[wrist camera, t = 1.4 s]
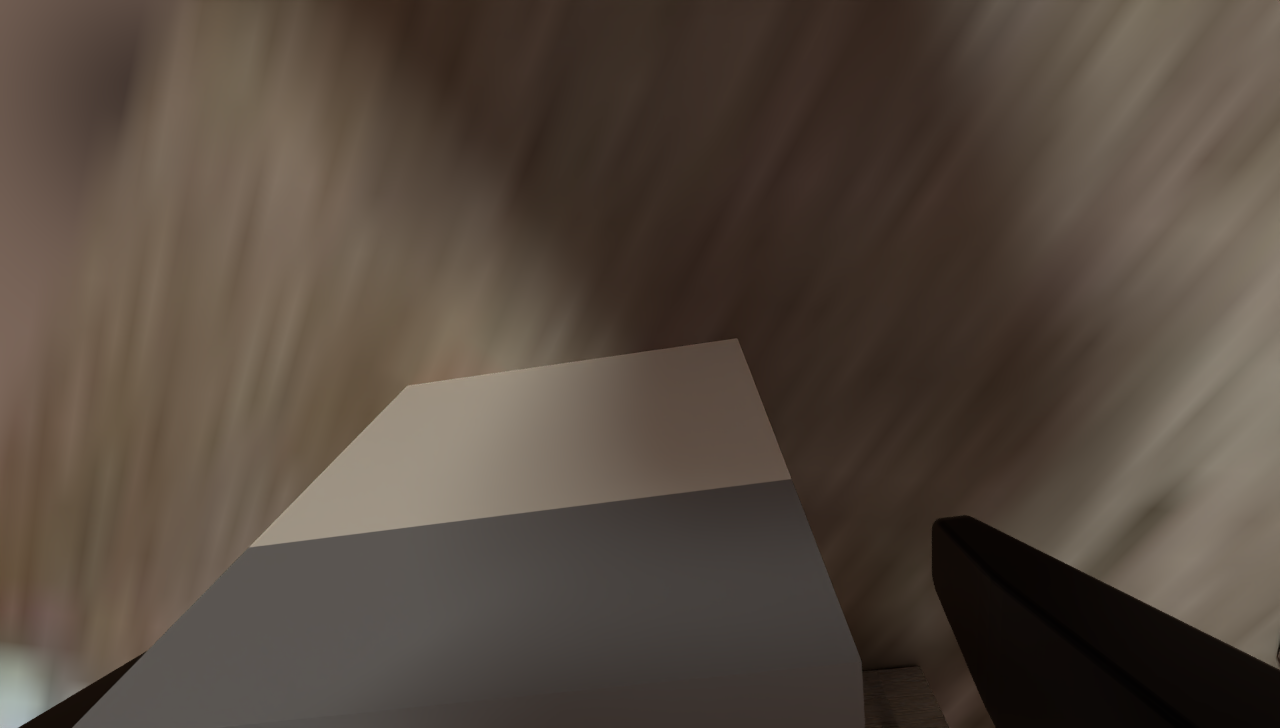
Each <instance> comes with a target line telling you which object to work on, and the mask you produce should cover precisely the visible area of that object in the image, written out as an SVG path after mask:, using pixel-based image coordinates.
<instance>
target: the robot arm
mask: <svg viewBox="0 0 1280 728" xmlns="http://www.w3.org/2000/svg"><path fill="white" fill-rule="evenodd" d="M932 577H933V582H934V586H935V590H936V592H937V595H938V597H939V600H940V602H941V604H942V607H943V609H944V611H945V614H946V616H947V619H948V621H949V623H950V626H951V628H952V630H953V633H954V635H955V637H956V640H957V642H958V645H959V647H960V649H961V652H962V654H963V656H964V659H965V661H966V663H967V666H968V668H969V671H970V673H971V675H972V678H973V680H974V682H975V685H976V687H977V689H978V692H979V694H980V696H981V698H982V701H983V703H984V705H985V707H986V709H987V711H988V713H989V715H990V717H991V719H992V721H993V723H994V725H995V727H996V728H1280V670H1279V669H1277V668H1275V667H1273V666H1271V665H1269V664H1267V663H1265V662H1263V661H1261V660H1259V659H1257V658H1255V657H1253V656H1251V655H1249V654H1247V653H1245V652H1243V651H1241V650H1239V649H1237V648H1235V647H1233V646H1231V645H1229V644H1227V643H1225V642H1223V641H1221V640H1219V639H1217V638H1214V637H1212V636H1210V635H1208V634H1206V633H1204V632H1202V631H1200V630H1198V629H1196V628H1194V627H1192V626H1190V625H1188V624H1186V623H1184V622H1182V621H1180V620H1178V619H1176V618H1174V617H1172V616H1170V615H1168V614H1166V613H1164V612H1162V611H1160V610H1158V609H1156V608H1154V607H1152V606H1150V605H1148V604H1146V603H1144V602H1142V601H1140V600H1138V599H1136V598H1134V597H1132V596H1130V595H1128V594H1126V593H1124V592H1122V591H1120V590H1118V589H1116V588H1114V587H1112V586H1110V585H1108V584H1106V583H1104V582H1102V581H1100V580H1098V579H1096V578H1094V577H1092V576H1090V575H1088V574H1086V573H1084V572H1082V571H1080V570H1078V569H1076V568H1073V567H1071V566H1069V565H1067V564H1065V563H1063V562H1061V561H1059V560H1057V559H1055V558H1053V557H1051V556H1049V555H1047V554H1045V553H1043V552H1041V551H1039V550H1037V549H1035V548H1033V547H1031V546H1029V545H1027V544H1025V543H1023V542H1021V541H1019V540H1017V539H1015V538H1013V537H1011V536H1009V535H1007V534H1005V533H1003V532H1001V531H999V530H997V529H995V528H993V527H991V526H989V525H987V524H985V523H983V522H981V521H979V520H977V519H975V518H973V517H970V516H965V515H963V516H955V517H946V518H939V519H937V520H936V521H935V522H934V523H933V526H932ZM146 652H147V651H146ZM146 652H144V653H143V654H141V655H139V656H138V657H136V658H134V659H133V660H131V661H129V662H128V663H126V664H124V665H123V666H121V667H119V668H118V669H116V670H114V671H113V672H111V673H109V674H108V675H106V676H104V677H103V678H101V679H99V680H98V681H96V682H94V683H93V684H91V685H89V686H88V687H86V688H84V689H82V690H81V691H79V692H77V693H76V694H74V695H72V696H71V697H69V698H67V699H66V700H64V701H62V702H61V703H59V704H57V705H56V706H54V707H52V708H51V709H49V710H47V711H46V712H44V713H42V714H41V715H39V716H37V717H36V718H34V719H32V720H31V721H29V722H27V723H26V724H24V725H22V726H20V727H19V728H72V727H73V726H74V725H75V724H76V723H77V722H78V721H79V720H80V719H81V718H82V717H83V716H84V715H85V714H86V713H87V712H88V711H89V710H90V709H91V708H92V707H93V706H94V705H95V704H96V703H97V702H98V701H99V700H100V699H101V698H102V697H103V696H104V695H105V694H106V693H107V692H108V691H109V690H110V689H111V688H112V687H113V686H114V685H115V684H116V683H117V682H118V681H119V679H120V678H121V677H122V676H123V675H124V674H125V673H126V672H127V671H128V670H129V669H130V668H131V667H132V666H133V665H134V664H135V663H136V662H137V661H138V660H139V659H140V658H141V657H142V656H143V655H144V654H145V653H146Z"/></svg>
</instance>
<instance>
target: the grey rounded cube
mask: <svg viewBox="0 0 1280 728" xmlns="http://www.w3.org/2000/svg"><path fill="white" fill-rule="evenodd" d="M72 728H865V714H864V695H863V677H862V661H861V659H860V656H859V653H858V651H857V648H856V646H855V643H854V640H853V638H852V635H851V632H850V630H849V627H848V625H847V622H846V619H845V617H844V614H843V612H842V609H841V606H840V604H839V601H838V599H837V596H836V593H835V591H834V588H833V586H832V583H831V580H830V578H829V575H828V573H827V570H826V567H825V565H824V562H823V560H822V557H821V554H820V552H819V549H818V547H817V544H816V541H815V539H814V536H813V534H812V531H811V528H810V526H809V523H808V521H807V518H806V515H805V513H804V510H803V508H802V505H801V502H800V500H799V497H798V495H797V492H796V489H795V487H794V484H793V482H792V479H791V476H790V474H789V471H788V468H787V466H786V463H785V461H784V458H783V455H782V453H781V450H780V448H779V445H778V442H777V440H776V437H775V435H774V432H773V429H772V427H771V424H770V422H769V419H768V416H767V414H766V411H765V409H764V406H763V403H762V401H761V398H760V396H759V393H758V390H757V388H756V385H755V383H754V380H753V377H752V375H751V372H750V370H749V367H748V364H747V362H746V359H745V357H744V354H743V351H742V349H741V346H740V344H739V341H738V338H735V339H728V340H721V341H714V342H708V343H701V344H694V345H687V346H680V347H673V348H666V349H659V350H652V351H645V352H638V353H631V354H624V355H617V356H610V357H604V358H597V359H590V360H583V361H576V362H569V363H562V364H555V365H548V366H541V367H534V368H527V369H520V370H513V371H506V372H499V373H493V374H486V375H479V376H472V377H465V378H458V379H451V380H444V381H437V382H430V383H423V384H416V385H409V386H407V387H406V388H405V389H404V390H403V391H402V392H401V393H400V394H399V395H398V396H397V397H396V398H395V399H394V400H393V401H392V402H391V403H390V404H389V405H388V406H387V407H386V408H385V409H384V410H383V411H382V412H381V413H380V414H379V415H378V416H377V417H376V418H375V419H374V420H373V421H372V422H371V423H370V424H369V425H368V426H367V427H366V428H365V429H364V430H363V432H362V433H361V434H360V435H359V436H358V437H357V438H356V439H355V440H354V441H353V442H352V443H351V444H350V445H349V446H348V447H347V448H346V449H345V450H344V451H343V452H342V453H341V454H340V455H339V456H338V457H337V458H336V459H335V460H334V461H333V462H332V463H331V464H330V465H329V466H328V467H327V468H326V469H325V470H324V471H323V472H322V473H321V474H320V475H319V476H318V477H317V478H316V479H315V480H314V482H313V483H312V484H311V485H310V486H309V487H308V488H307V489H306V490H305V491H304V492H303V493H302V494H301V495H300V496H299V497H298V498H297V499H296V500H295V501H294V502H293V503H292V504H291V505H290V506H289V507H288V508H287V509H286V510H285V511H284V512H283V513H282V514H281V515H280V516H279V517H278V518H277V519H276V520H275V521H274V522H273V523H272V524H271V525H270V526H269V527H268V528H267V529H266V530H265V532H264V533H263V534H262V535H261V536H260V537H259V538H258V539H257V540H256V541H255V542H254V543H253V544H252V545H251V546H250V547H249V548H248V549H247V550H246V551H245V552H244V553H243V554H242V555H241V556H240V557H239V558H238V559H237V560H236V561H235V562H234V563H233V564H232V565H231V566H230V567H229V568H228V569H227V570H226V571H225V572H224V573H223V574H222V575H221V576H220V577H219V578H218V579H217V580H216V582H215V583H214V584H213V585H212V586H211V587H210V588H209V589H208V590H207V591H206V592H205V593H204V594H203V595H202V596H201V597H200V598H199V599H198V600H197V601H196V602H195V603H194V604H193V605H192V606H191V607H190V608H189V609H188V610H187V611H186V612H185V613H184V614H183V615H182V616H181V617H180V618H179V619H178V620H177V621H176V622H175V623H174V624H173V625H172V626H171V627H170V628H169V629H168V630H167V632H166V633H165V634H164V635H163V636H162V637H161V638H160V639H159V640H158V641H157V642H156V643H155V644H154V645H153V646H152V647H151V648H150V649H149V650H148V651H147V652H146V653H145V654H144V655H143V656H142V657H141V658H140V659H139V660H138V661H137V662H136V663H135V664H134V665H133V666H132V667H131V668H130V669H129V670H128V671H127V672H126V673H125V674H124V675H123V676H122V677H121V678H120V679H119V681H118V682H117V683H116V684H115V685H114V686H113V687H112V688H111V689H110V690H109V691H108V692H107V693H106V694H105V695H104V696H103V697H102V698H101V699H100V700H99V701H98V702H97V703H96V704H95V705H94V706H93V707H92V708H91V709H90V710H89V711H88V712H87V713H86V714H85V715H84V716H83V717H82V718H81V719H80V720H79V721H78V722H77V723H76V724H75V725H74V726H73V727H72Z"/></svg>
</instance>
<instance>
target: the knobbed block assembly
mask: <svg viewBox="0 0 1280 728" xmlns="http://www.w3.org/2000/svg"><path fill="white" fill-rule="evenodd" d="M1278 658H1279V659H1280V651H1279V655H1278ZM862 677H863V695H864V714H865V728H949V726H948V724H947V722H946V720H945V718H944V715H943V713H942V711H941V709H940V707H939V705H938V703H937V701H936V699H935V697H934V695H933V693H932V691H931V689H930V687H929V685H928V682H927V680H926V678H925V676H924V674H923V672H922V670H921V668H920V666H915V667H905V668H895V669H885V670H875V671H865V672H862Z"/></svg>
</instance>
